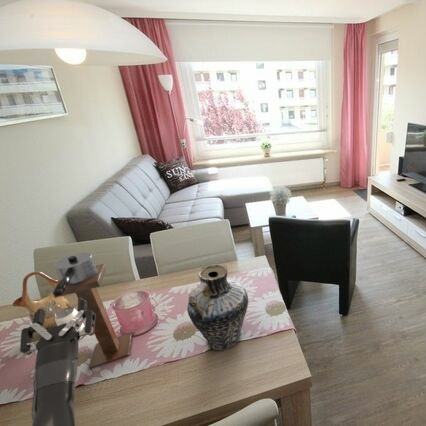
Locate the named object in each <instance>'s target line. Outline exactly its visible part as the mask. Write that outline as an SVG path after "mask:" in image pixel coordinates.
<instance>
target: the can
mask: <svg viewBox="0 0 426 426" xmlns="http://www.w3.org/2000/svg"><path fill="white" fill-rule="evenodd" d="M77 310H78V309H75V307H73V306H71V307H68V308H65V309H62V310H60V311H59V312H57V313H56V314H55V322H56V324H57V326H59V325H61V324H65V323H66V324H68V322H69V321H70V320H71V319H72V318H74V317H75V316H76V315H77V313H78V311H77ZM74 325H75V324H74ZM74 325H73V327H74ZM83 327H85V324H84V323H82V325H81V327H80V328H79V329H78V331H79V332H80V331H82V329H83ZM83 337H84V336H81V337H80V338H79V340H80V339H81V338H83Z"/></svg>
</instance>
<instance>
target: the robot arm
mask: <svg viewBox="0 0 426 426" xmlns="http://www.w3.org/2000/svg"><path fill="white" fill-rule="evenodd" d="M76 310H77V312H78V313H77V315H76V316H75V317H74V318H72V319H71V320H70V321H69V322H68V324H66V323H65V324H61V325H59V326H54V327H50V329H49V330H46V329H45V328H44V327H43V326H42V325H44V319H45V310H43V309H42V308H41V309H38V310H37V312H35V314H34V319H33V324H32V323H31V325H30V326H29V327H24V328H22V329H21V333H20V347H19V352H20V353H22V354H24V355H27V356H29V355H31V354H33V352H36V351H37V352H36V355H35V365H34V373H33V377H32V378H33V380H32V381H33V382H32V386H33V394H32V403H31V420H32V425H31V426H76V418H75V410H74V407H75V399H76V398H75V395H76V383H77V382H76V380H77V376H78V365H79V340H80V339H81V338H82V337H81V336H83V337H85V336H90V337H91V336H93V335H95V334H94V330H95V319H96V314H95V313H94V312H93V311H92V310H88V311H87V302H86V301H85V300H84V299H83V298H79V299H78V298H77V309H76ZM84 321H85V324H84V323H83V322H84ZM82 323H83V324H84V326H85V327H83V329H82V331H80V332H79V331H78V329H79V328H80V327H81V325H82ZM74 324H75V325H74ZM73 325H74V327H73ZM34 333H38V334H39V335H40V336H41V337H40V338H39V340H37V342H36V343H34ZM80 337H81V338H80ZM79 338H80V339H79Z"/></svg>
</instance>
